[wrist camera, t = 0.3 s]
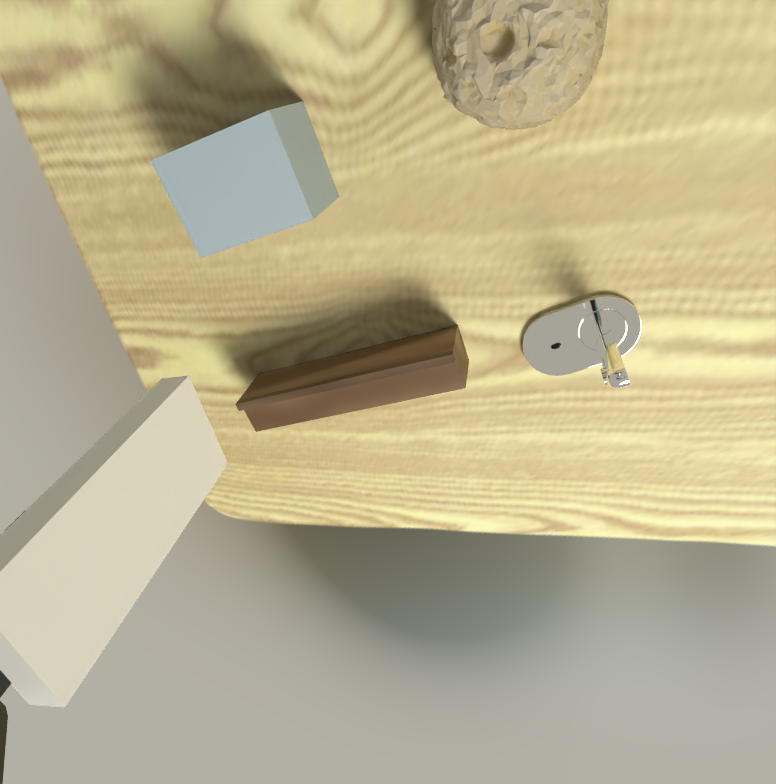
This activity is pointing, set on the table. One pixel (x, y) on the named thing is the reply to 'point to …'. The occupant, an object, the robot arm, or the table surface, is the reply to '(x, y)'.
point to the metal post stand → (585, 338)
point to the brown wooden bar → (358, 380)
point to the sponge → (517, 56)
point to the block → (248, 179)
